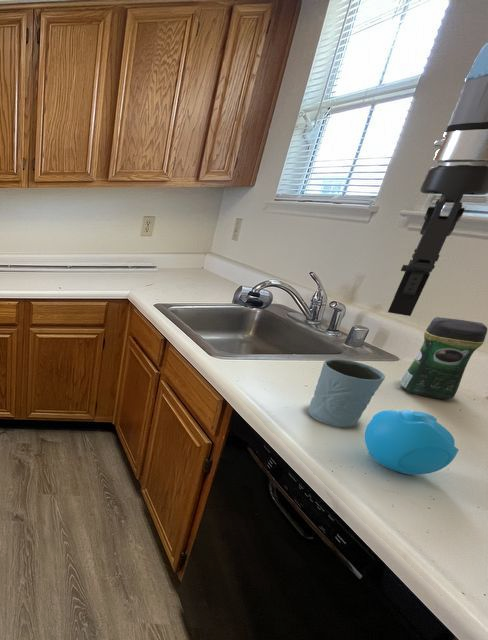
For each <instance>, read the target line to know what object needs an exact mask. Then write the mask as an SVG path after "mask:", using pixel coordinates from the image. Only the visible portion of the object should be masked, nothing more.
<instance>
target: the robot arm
mask: <svg viewBox="0 0 488 640" xmlns="http://www.w3.org/2000/svg"><path fill="white" fill-rule="evenodd" d="M442 137H443V138H444V139H437V140H436V141H435V142H434V143H433V148H439V149H438V150H436V152H435V155H434V157H433V160H432V161H433V163H436V166H432V167H431V166H430V167H431V168H428V170H427V172H426V174H425V177H424V180H423V182H422V185H421V187H420V189H419V191H420V193H422V194H429V195H430V194H431V195H440V197H439V198H438V199H437V200H436V201H435V203H434V204H435V205H434V206H428V207H427V210H426V212H425V214H424V217H423V220H424V222H423V224H422V226H421V228H420V231H419V234H420V235H421V236H420V237H421V238H420V240H419V242H418V244H417V246H416V248H414V250H413V253H412V256H411V257H412V258H411V259H410V260H409V262H408V264H402V267H401V269H400V272H404V274H403V276H402V278H401V279H400V282H399V285H398V287H397V290H396V292H395V294H394V296H393V299H392V301H391V304H390V306H389V308H388V310H387V313H388V314H389V313H390V314H395V315H401V316H407V317H411V315H412V313H413V311H414V309H415V307H416V305H417V304H418V301H419V298H420V296H421V295H422V292H423V290H424V288H425V286H426V284H427V282H428V279H429V277H430V276H431V273H432V272H433V270H434V269H435V267H436V266H435V264H436V262H438V261H439V258H440V256H441V255H440V253H441V250H442V248H443V246H444V244H445V242H446V240H447V237H450V236H451V235H452V233H453V231H454V230H455V227H456V225H457V223H458V222H459V221H460V220H461V218H462V216H463V214H464V212H465V210H466V208H465V207H463V202H462V199H463V197H464V195H465V196H484V195H488V42H486V43H485V44H484V45H483V46H482V47H481V49H480V51H479V53H478V55H477V57H476V58H475V60H474V62H473V64H472V66H471V68H470V70H469V72H468V74H467V76H466V77H465V79H464V85H463V87H462V90H461V92H460V95H459V97H458V100H457V102H456V105H455V107H454V110H453V112H452V114H451V117H450V120H449V122H448V124H447V126H446V128H445V131H444V134H443V135H442Z"/></svg>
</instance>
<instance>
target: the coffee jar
mask: <svg viewBox="0 0 488 640" xmlns="http://www.w3.org/2000/svg"><path fill="white" fill-rule="evenodd" d="M487 334H488V326H486V324H484V323H482V322H477V321H471V320H465V319H456V318H449V317H439V316H435V317H434V318H433V319H432V320H431V322H430V323H429V325H428V326H427V327H426V329H425V330H424V333H423V339H424V340H423V343H422V345H421V347H420V349H419V351H418V353H417V354H416V356H415V357H414V359H413V361H412V362H411V364H410V365H409V367H408V369H407V370H406V372H405V373H404V374H403V377H402V378H401V380H400V387H401V388H402V389H403V390H406V391H407V392H409V393H413V394H416V395H420V396H424V397H429V398H436V399H441V400H450V399H453V398H454V397H455V396H456V394H457V393H458V389H459V387H460V384H461V382H462V381H461V380H462V378H463V376H464V373H465V370H466V367H467V366H468V363H469V361H470V359H471V357H472V356H473V354H474V352H475V351H476V350H478V349H479V348H480V347H481V346H482V345H483V344H484V342H485V340H486V336H487Z"/></svg>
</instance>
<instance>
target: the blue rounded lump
mask: <svg viewBox="0 0 488 640" xmlns="http://www.w3.org/2000/svg"><path fill="white" fill-rule="evenodd" d="M437 420H438V419H437V418H436V417H435V416H434V415H433V414H432V415H431V414H429V413H427V412H423V411H417V410H416V411H415V410H414V411H413V410H412V411H411V410H408V409H406V410H405V409H401V410H394V409H386V410H380V411H379V412H377V413H375V414H374V415H372V419H370V421H369V422H368V424H367V425H366V427H365V431H364V443H365V446H366V448H367V451H368V455H369V456H370V458H372V459H373V460H374V461H375V462H377V463H378V464H379V465H381V466H383V467H385V468H387V469H389V470H391V471H394V472H397V473H402V474H406V475H426V474H432V473H435V472H438V471H441V470H442V469H444V468H446V467H447V466H449V465H450V464H451V463H452V462H453V461H454V459H455V458H456V457H457V455H458V453H459V451H460V450H459V448H457V447H456V446H455V445H456V443H455V437H454V436H453V435H452V433H451V432H450V431H449V430H448V429H447V428H446V427H445V426H443V425H442V424H440V423H439V422H438V421H437Z"/></svg>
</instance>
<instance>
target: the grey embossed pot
mask: <svg viewBox="0 0 488 640" xmlns="http://www.w3.org/2000/svg"><path fill="white" fill-rule="evenodd" d="M385 378H386V375H385V373H383V372H382V371H381V370H379V369H377V368H375V367H373V366H371V365H368V364H366V363H362V362H359V361H354V360H348V359H341V358H330V359H326V360H324V361H323V364H322V367H321V370H320V374H319V377H318V380H317V383H316V386H315V389H314V393H313V396H312V398H311V400H310V402H309V405H308V406H309V407H308V410H307V412H308V415H309V416H311V417H312V418H313V419H314V420H317V421H318V422H321V423H323V424H326V425H329V426H333V427H336V428H337V427H338V428H353V427H355V426H356V425H357V423H358V422H359V420H360V418H361V417H362V415H363V414H364V412H365V410H366V409H367V407H368V405H369V404H370V402H371V400H372V397H373V396H374V395H375V393H376V392H377V391H378V389H379V388H380V386H381V385H382V384H383V382H384V381H385Z"/></svg>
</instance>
